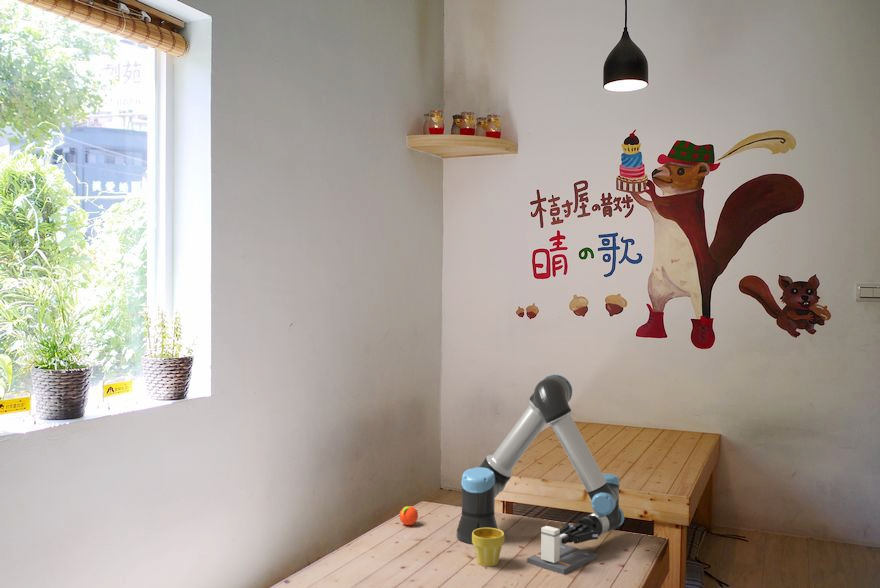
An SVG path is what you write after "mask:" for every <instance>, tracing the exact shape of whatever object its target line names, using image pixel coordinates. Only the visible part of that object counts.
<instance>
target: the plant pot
mask: <svg viewBox="0 0 880 588" xmlns="http://www.w3.org/2000/svg"><path fill="white" fill-rule="evenodd" d="M472 543H473V546H474V550H475V555H476V556H475V557H476V561H477V564H478V565H480V566H483V567H495V566H496V565H498V564H499V560H500V555H501V551H502V546H504V544H505V531H503V530H501V529H499V528H498V529H496V528H479V529H475V530H474V531H473V532H472Z"/></svg>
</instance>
